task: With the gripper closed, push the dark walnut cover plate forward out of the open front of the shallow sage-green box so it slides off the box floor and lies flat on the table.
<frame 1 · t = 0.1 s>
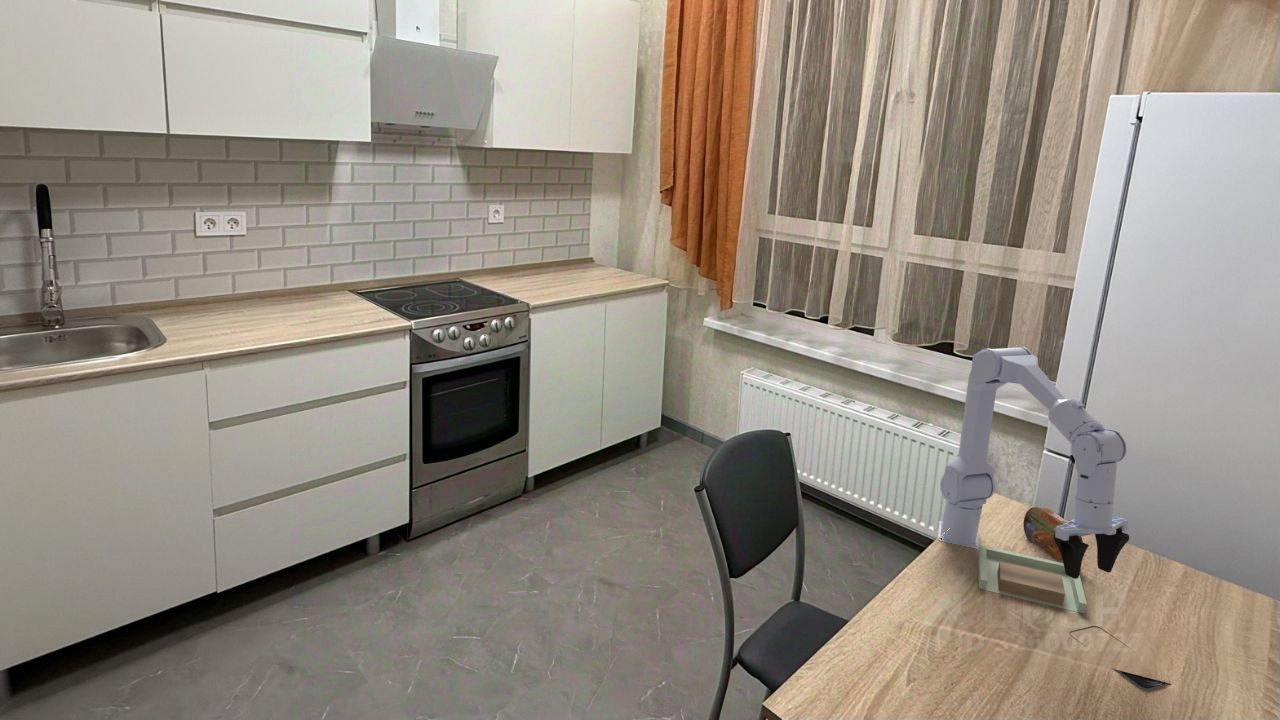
hand: (1088, 573, 136), 11 cm above the table, tool pointing down, fingers open, 7 cm apart
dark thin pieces: (1118, 660, 131), on the table
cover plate: (1028, 588, 149), resting on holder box
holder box: (1027, 584, 152), on the table
tin: (1048, 552, 164), on the table
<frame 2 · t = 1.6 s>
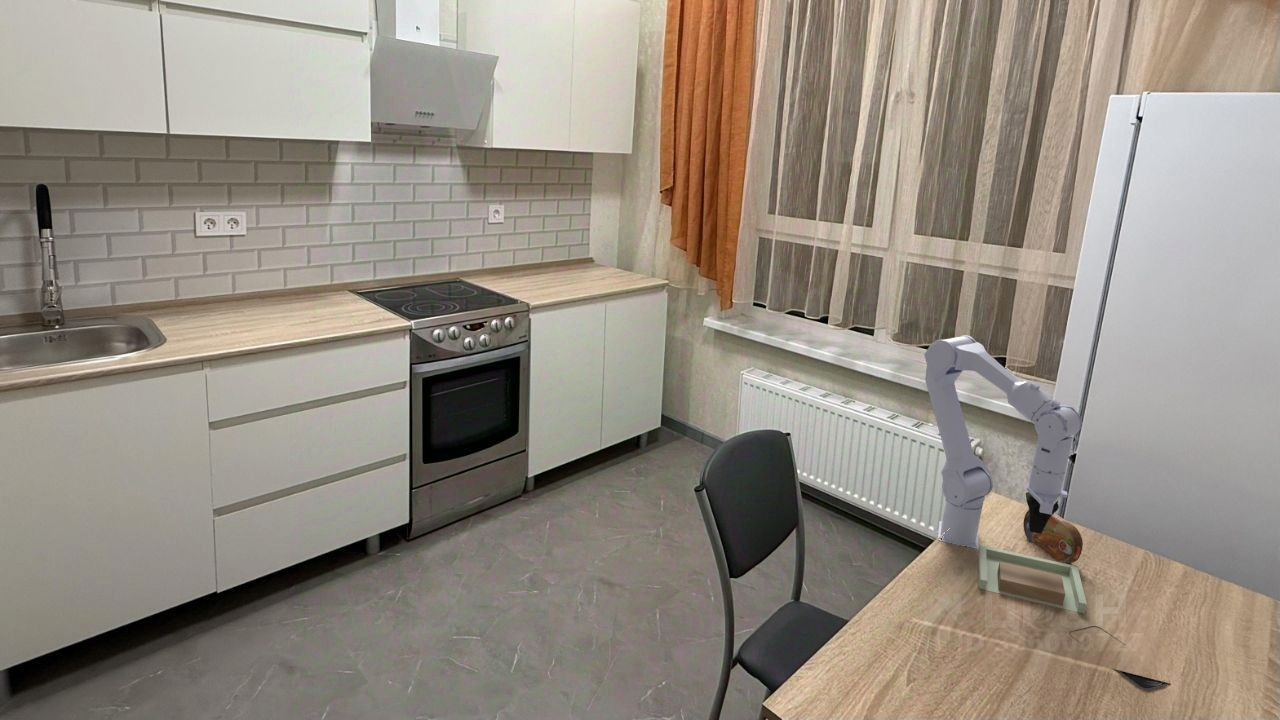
hand: (1035, 531, 153), 9 cm above the table, tool pointing down, fingers closed
nothing on the table moved.
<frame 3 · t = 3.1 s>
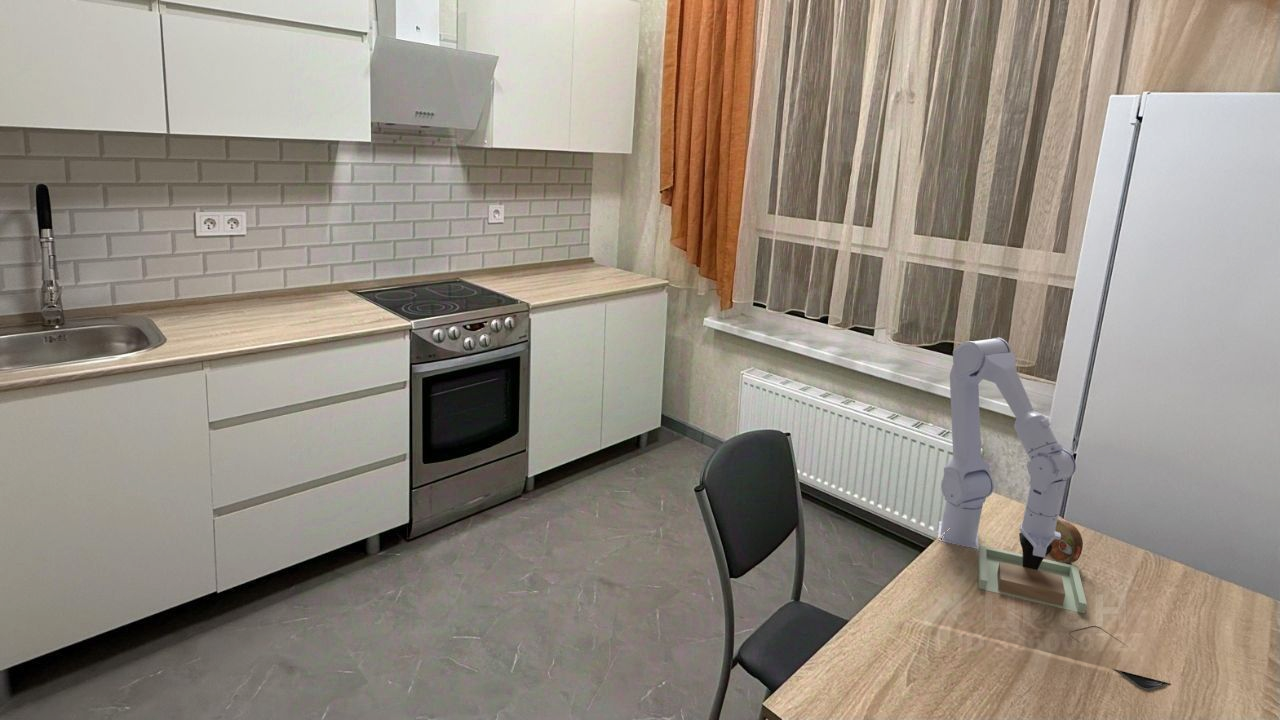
hand: (1028, 571, 153), 2 cm above the table, tool pointing down, fingers closed
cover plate: (1028, 588, 149), point 1 cm above the table, touching gripper
everything else where it was.
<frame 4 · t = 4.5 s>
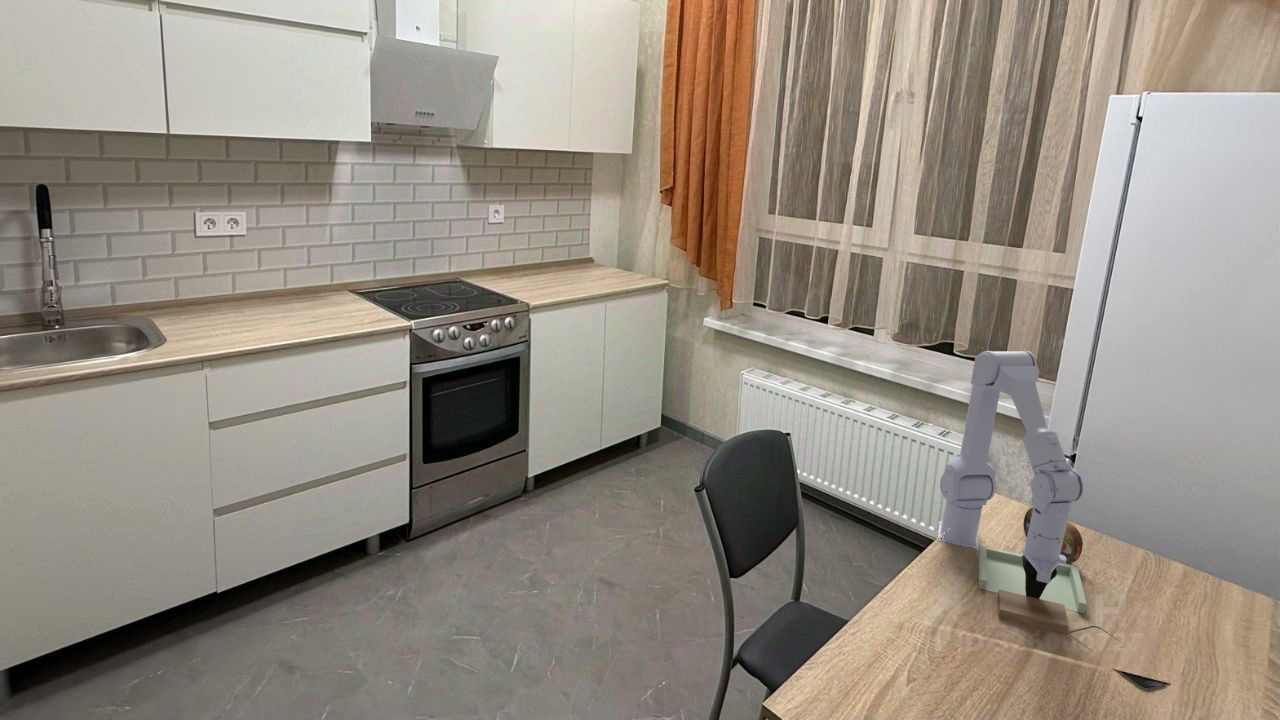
hand: (1032, 596, 144), 2 cm above the table, tool pointing down, fingers closed
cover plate: (1030, 619, 141), on the table, touching gripper
everything else where it was.
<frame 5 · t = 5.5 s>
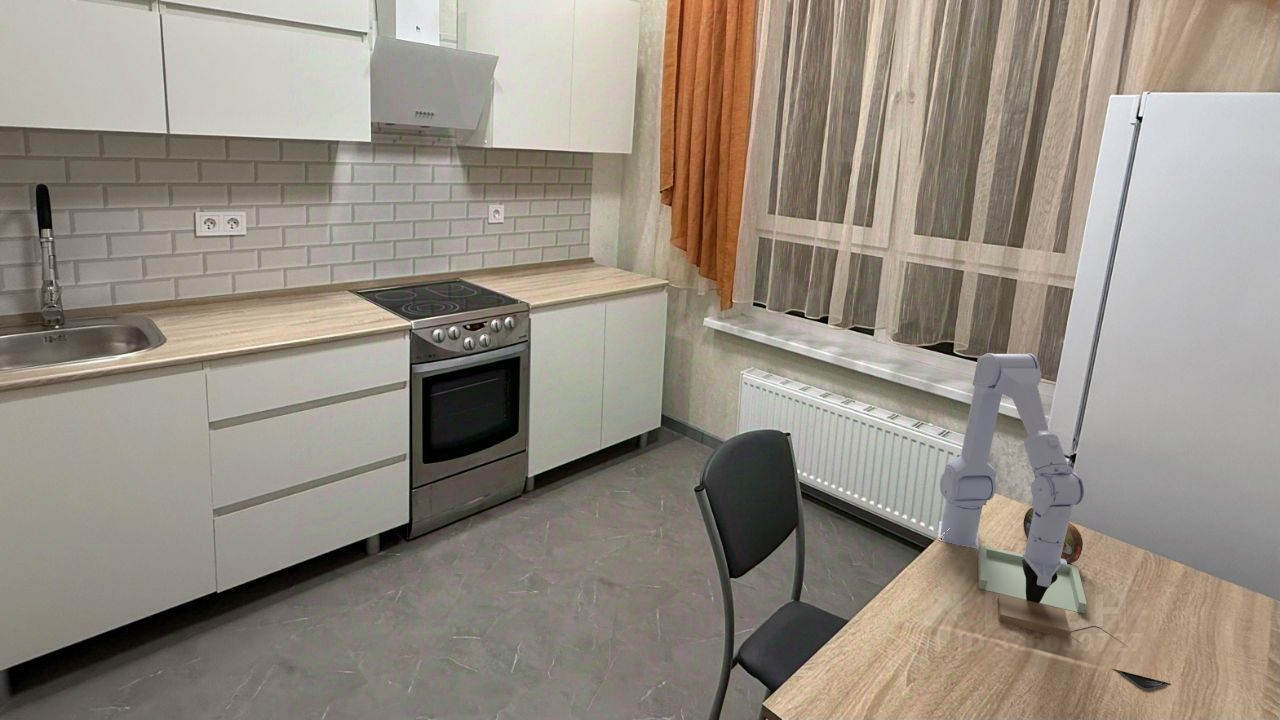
hand: (1032, 600, 143), 2 cm above the table, tool pointing down, fingers closed
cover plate: (1030, 623, 140), on the table
everything else where it was.
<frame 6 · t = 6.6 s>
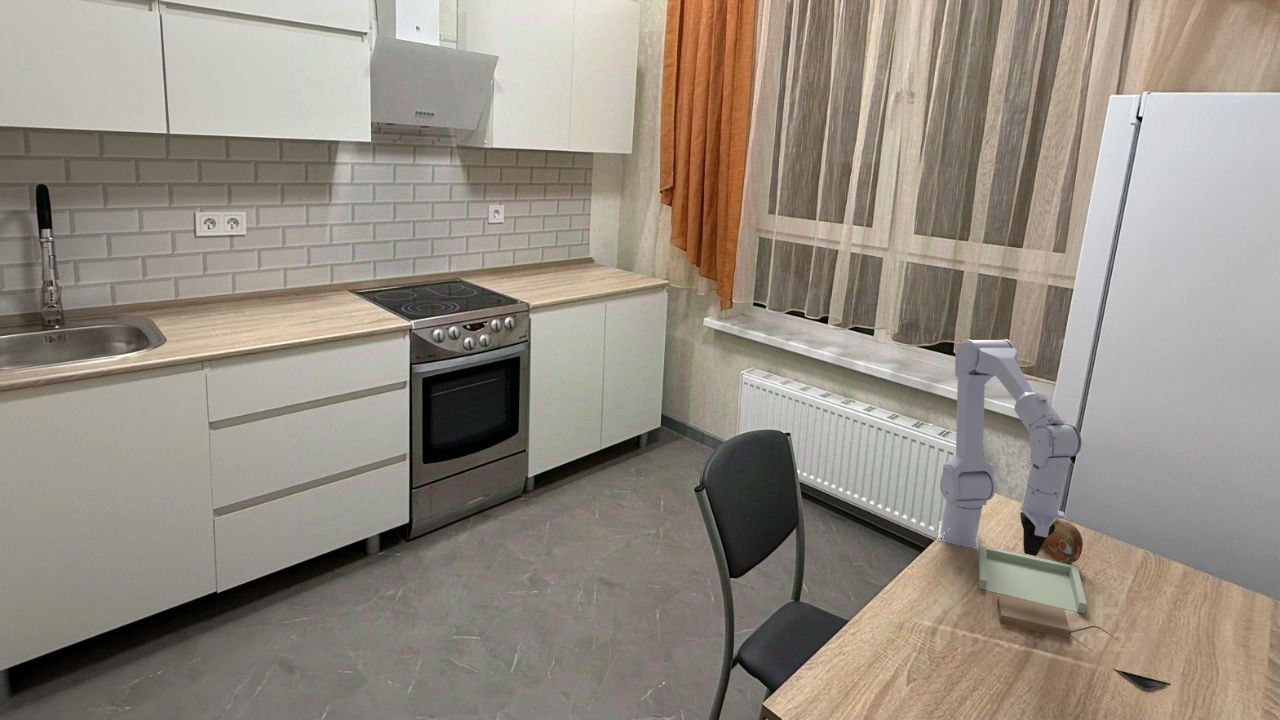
hand: (1030, 553, 145), 9 cm above the table, tool pointing down, fingers closed
nothing on the table moved.
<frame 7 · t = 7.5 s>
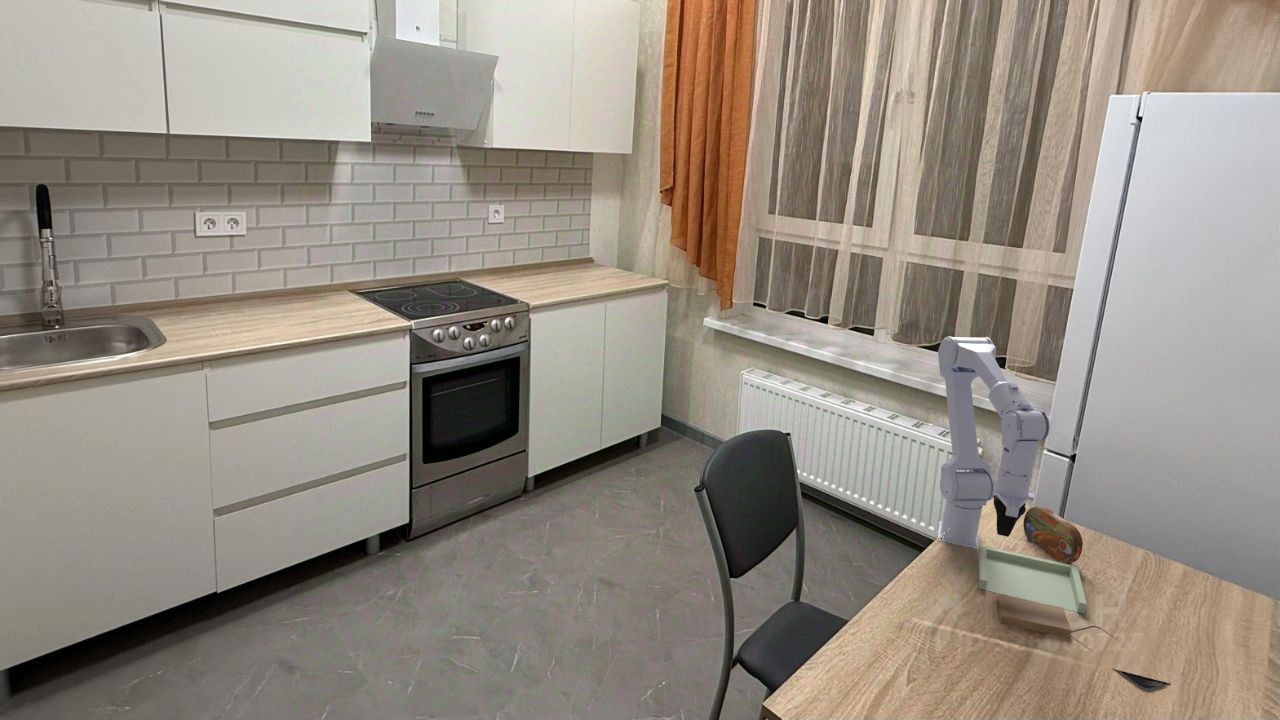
hand: (1002, 534, 151), 9 cm above the table, tool pointing down, fingers closed
nothing on the table moved.
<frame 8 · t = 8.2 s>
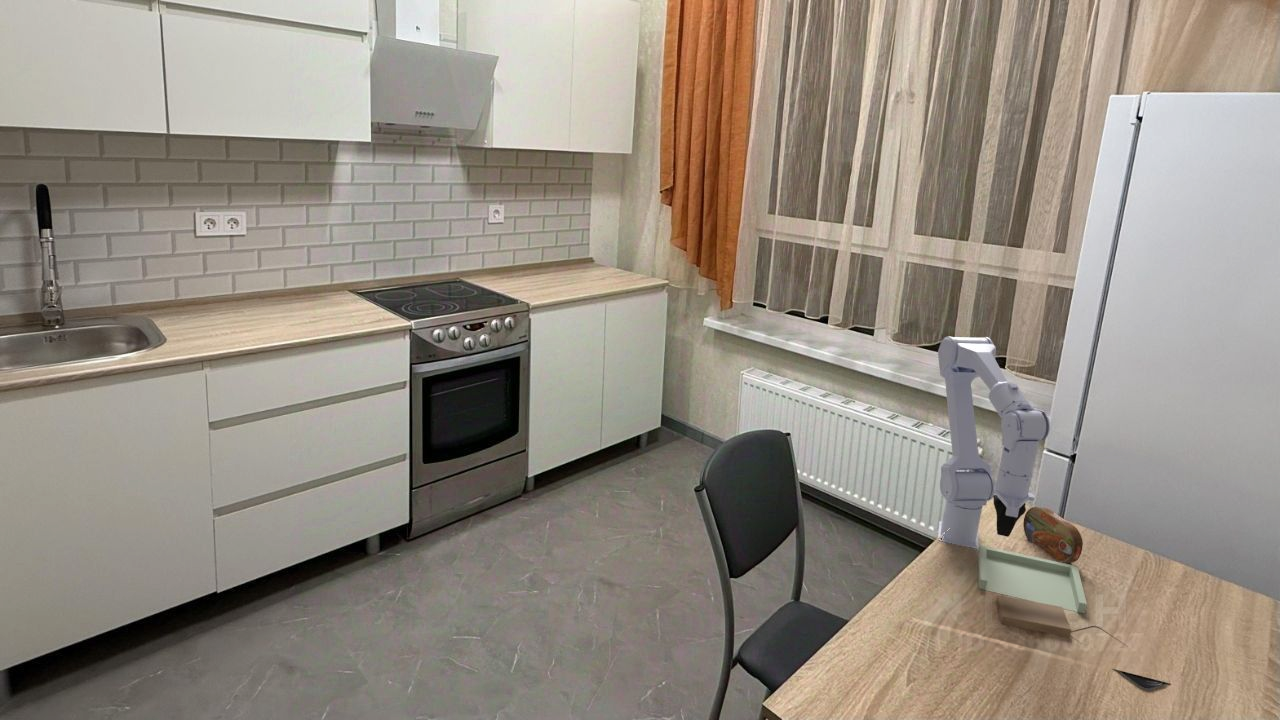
hand: (1002, 534, 151), 9 cm above the table, tool pointing down, fingers closed
nothing on the table moved.
at the end: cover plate inside the target area (1.5 cm from its centre), on the table; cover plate tilted 0°; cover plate touching table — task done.
